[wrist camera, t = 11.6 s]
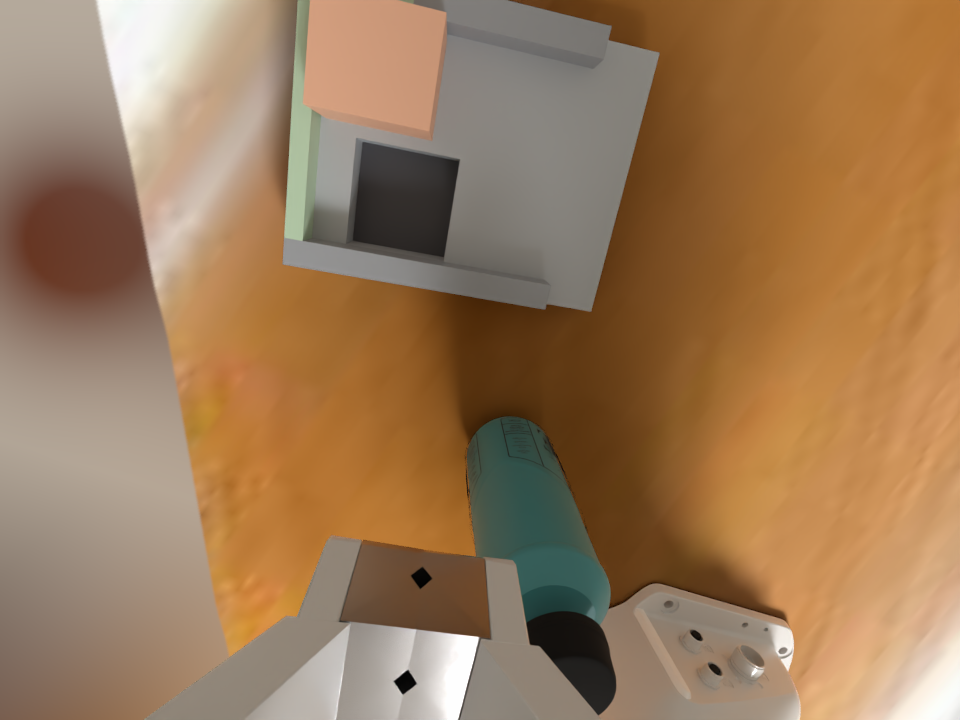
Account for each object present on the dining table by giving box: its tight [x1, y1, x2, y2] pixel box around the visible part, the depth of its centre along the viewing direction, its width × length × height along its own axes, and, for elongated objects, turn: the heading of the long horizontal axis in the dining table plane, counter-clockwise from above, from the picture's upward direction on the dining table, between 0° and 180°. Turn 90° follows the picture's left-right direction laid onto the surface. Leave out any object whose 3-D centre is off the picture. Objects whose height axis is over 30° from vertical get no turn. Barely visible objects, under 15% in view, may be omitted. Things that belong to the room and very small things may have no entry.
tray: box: [283, 0, 660, 312], centre depth 28 cm, size 19×15×4 cm
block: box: [303, 0, 447, 141], centre depth 24 cm, size 6×5×4 cm
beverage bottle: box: [465, 416, 616, 716], centre depth 28 cm, size 6×7×20 cm
